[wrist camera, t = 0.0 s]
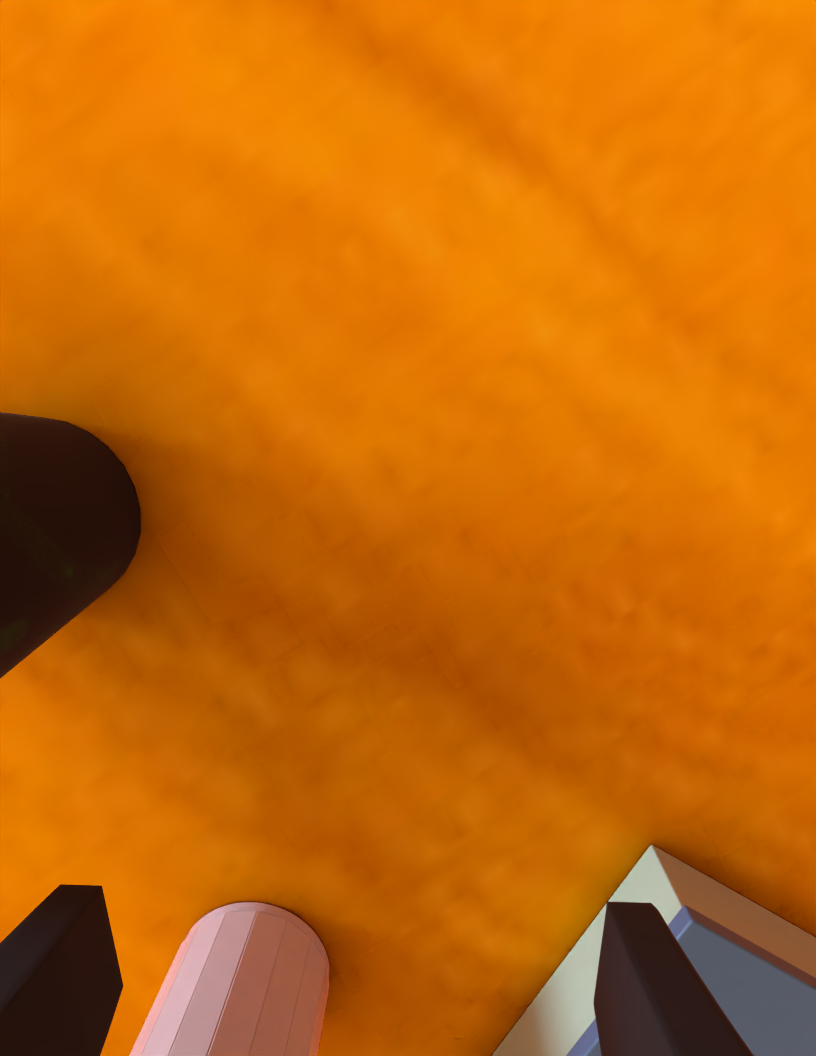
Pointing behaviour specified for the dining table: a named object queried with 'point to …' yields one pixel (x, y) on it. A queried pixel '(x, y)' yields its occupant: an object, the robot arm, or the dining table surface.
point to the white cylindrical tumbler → (241, 988)
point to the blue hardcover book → (713, 949)
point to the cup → (57, 528)
